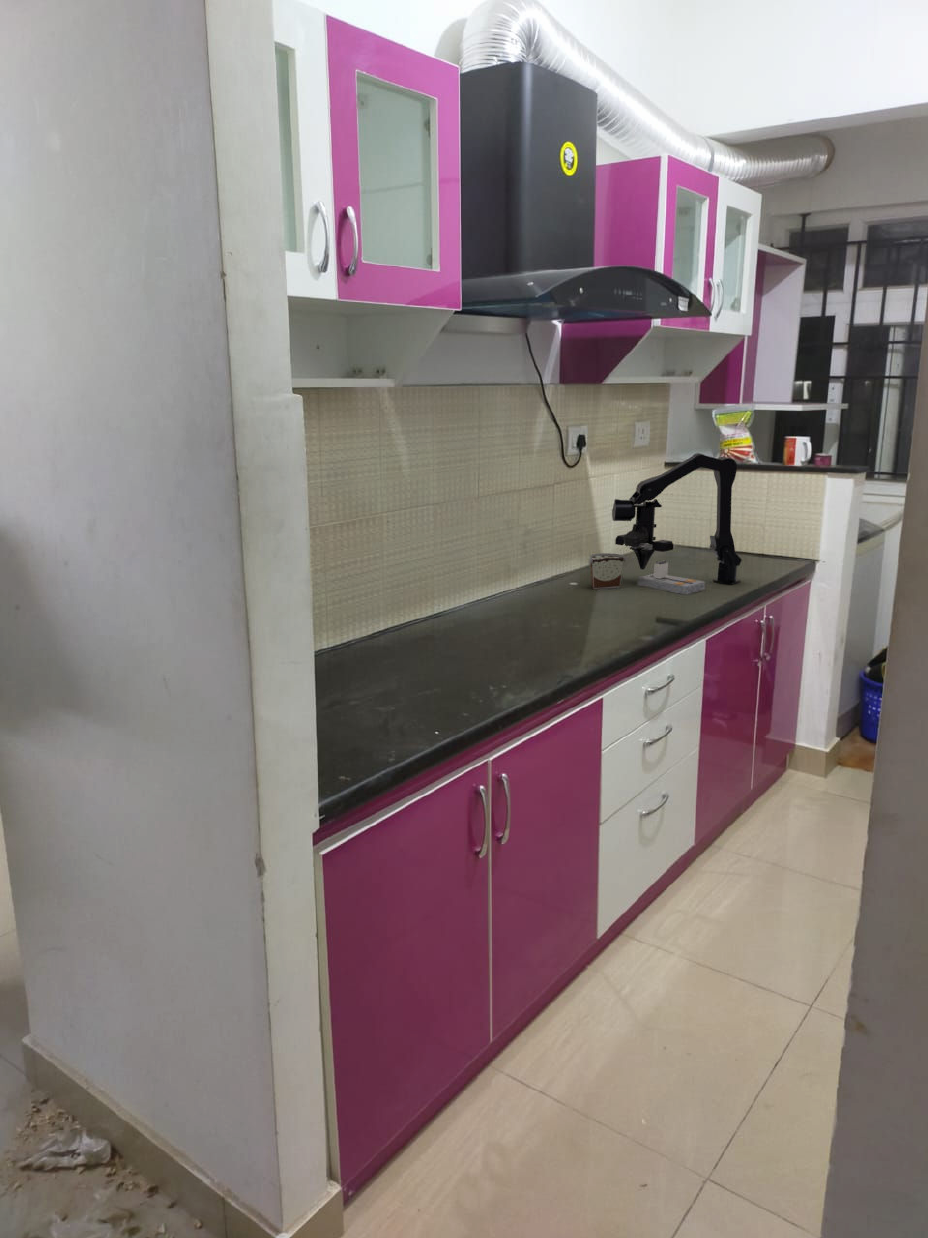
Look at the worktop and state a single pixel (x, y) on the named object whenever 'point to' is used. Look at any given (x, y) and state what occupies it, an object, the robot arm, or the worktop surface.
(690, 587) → the console
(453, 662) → the worktop surface
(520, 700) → the worktop surface
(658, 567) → the fader tab
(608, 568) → the food container
